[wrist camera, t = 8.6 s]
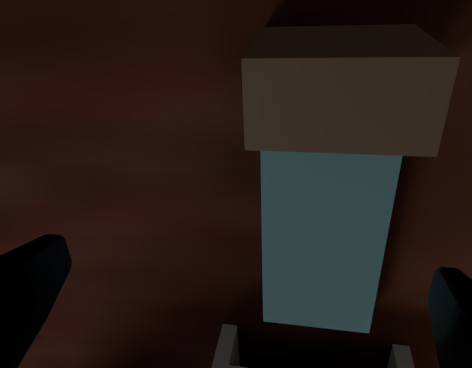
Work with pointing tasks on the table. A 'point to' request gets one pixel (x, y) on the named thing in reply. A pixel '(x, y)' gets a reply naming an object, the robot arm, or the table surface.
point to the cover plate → (337, 157)
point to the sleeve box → (228, 364)
